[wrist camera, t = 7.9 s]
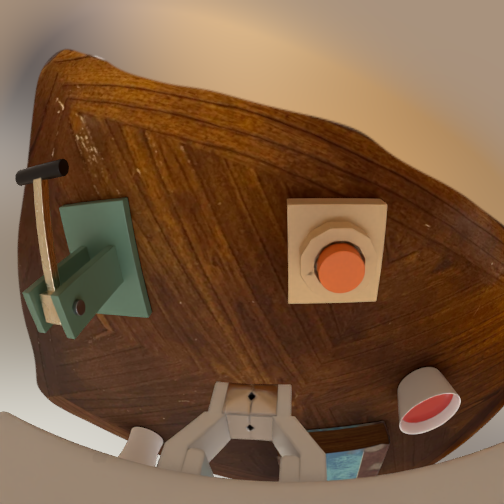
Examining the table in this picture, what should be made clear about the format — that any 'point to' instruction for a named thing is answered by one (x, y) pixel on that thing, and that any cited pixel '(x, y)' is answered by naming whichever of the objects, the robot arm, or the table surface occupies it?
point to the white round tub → (425, 401)
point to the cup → (142, 446)
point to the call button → (328, 233)
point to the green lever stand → (94, 268)
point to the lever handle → (45, 227)
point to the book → (352, 449)
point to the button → (340, 268)
